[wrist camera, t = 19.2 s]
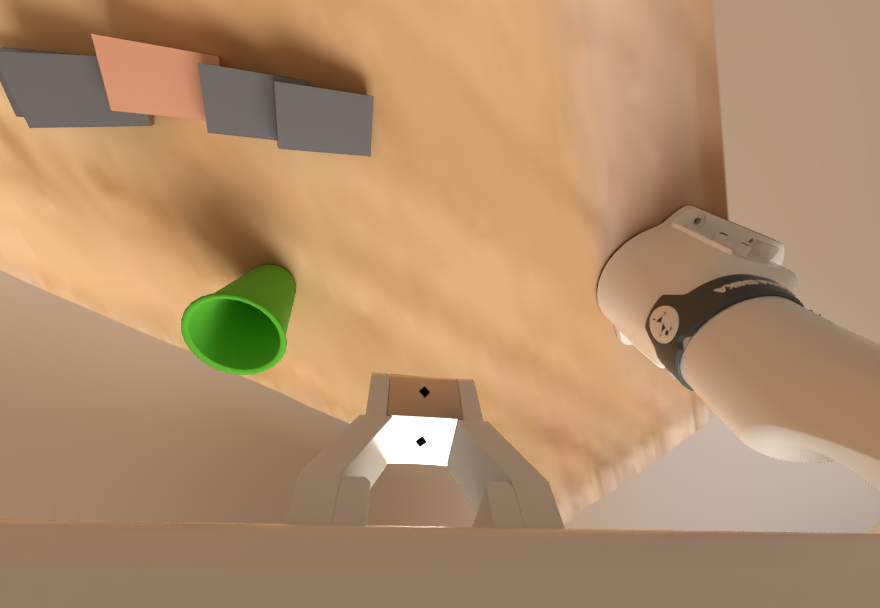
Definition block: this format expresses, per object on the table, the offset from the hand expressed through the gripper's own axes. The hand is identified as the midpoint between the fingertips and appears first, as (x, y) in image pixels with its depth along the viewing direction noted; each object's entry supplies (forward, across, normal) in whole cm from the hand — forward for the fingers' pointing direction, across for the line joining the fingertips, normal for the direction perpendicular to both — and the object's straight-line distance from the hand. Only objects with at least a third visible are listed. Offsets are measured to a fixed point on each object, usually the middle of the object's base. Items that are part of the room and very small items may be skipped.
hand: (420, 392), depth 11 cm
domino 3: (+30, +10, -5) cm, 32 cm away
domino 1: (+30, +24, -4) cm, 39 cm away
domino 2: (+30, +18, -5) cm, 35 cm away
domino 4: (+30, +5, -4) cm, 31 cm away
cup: (+31, +15, +14) cm, 37 cm away
